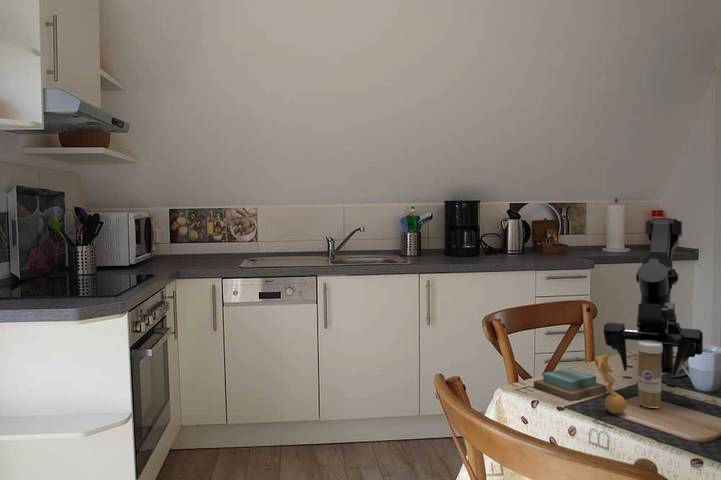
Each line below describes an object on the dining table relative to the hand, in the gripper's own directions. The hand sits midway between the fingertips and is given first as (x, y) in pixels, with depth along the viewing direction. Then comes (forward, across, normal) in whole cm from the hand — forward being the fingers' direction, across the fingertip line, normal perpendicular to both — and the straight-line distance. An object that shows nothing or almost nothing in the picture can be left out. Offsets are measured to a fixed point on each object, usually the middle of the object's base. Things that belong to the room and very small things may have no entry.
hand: (649, 372), depth 121 cm
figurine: (+10, -7, +1) cm, 12 cm away
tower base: (+2, -17, +8) cm, 19 cm away
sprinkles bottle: (+4, 0, +6) cm, 8 cm away
